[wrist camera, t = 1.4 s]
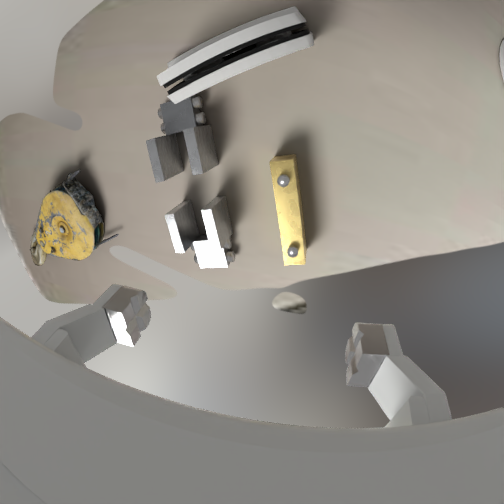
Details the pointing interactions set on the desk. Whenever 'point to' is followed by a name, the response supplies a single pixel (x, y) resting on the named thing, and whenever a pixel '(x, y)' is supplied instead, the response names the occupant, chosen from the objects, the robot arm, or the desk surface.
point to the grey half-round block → (211, 52)
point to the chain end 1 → (196, 138)
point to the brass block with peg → (289, 208)
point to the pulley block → (67, 224)
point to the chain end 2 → (206, 246)
